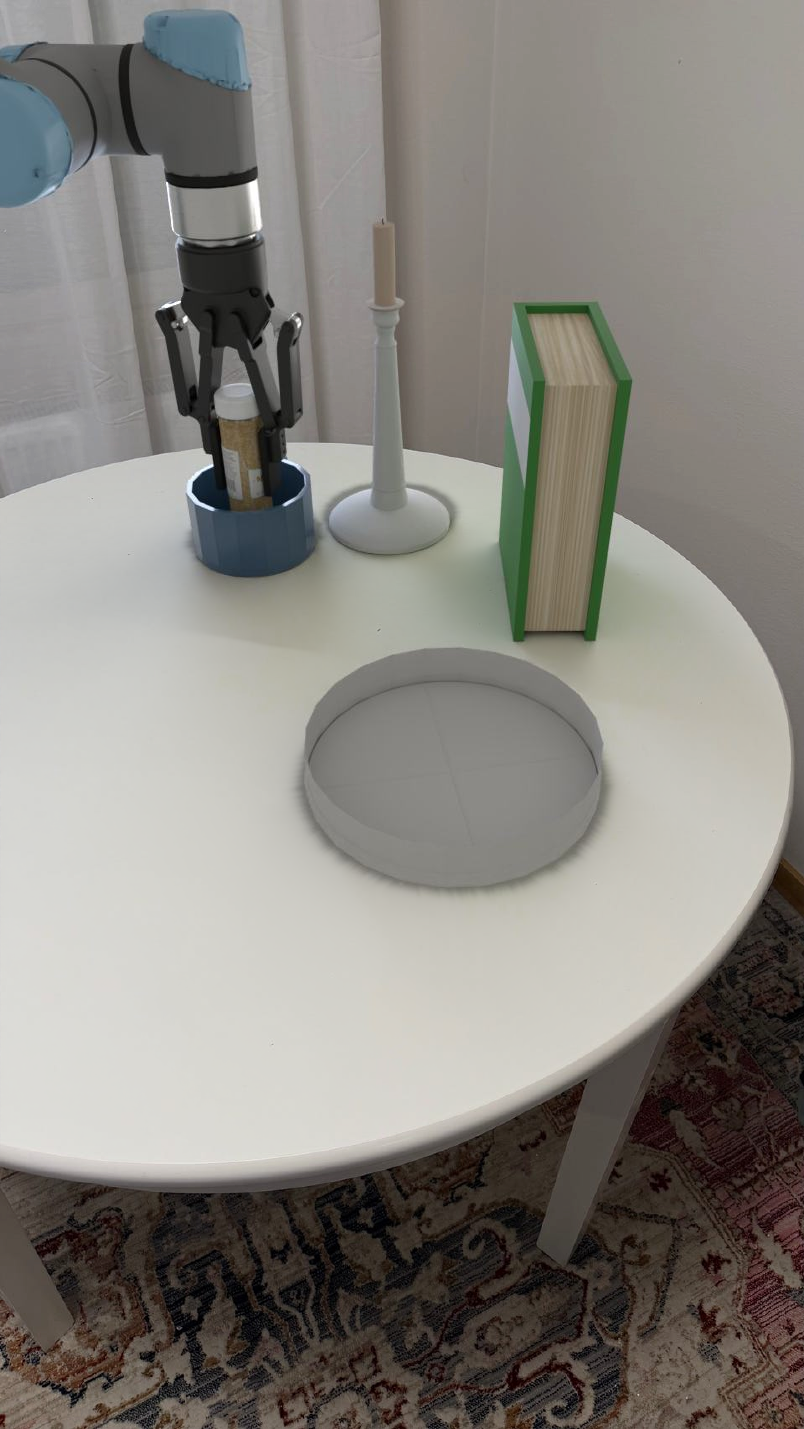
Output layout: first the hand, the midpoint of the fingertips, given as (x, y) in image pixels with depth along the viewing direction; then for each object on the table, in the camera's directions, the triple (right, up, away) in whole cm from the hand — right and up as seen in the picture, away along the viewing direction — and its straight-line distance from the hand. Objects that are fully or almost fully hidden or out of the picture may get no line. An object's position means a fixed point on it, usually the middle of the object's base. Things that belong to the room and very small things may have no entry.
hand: (249, 486), depth 100 cm
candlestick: (+14, -2, +8) cm, 16 cm away
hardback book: (+29, -10, -2) cm, 31 cm away
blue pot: (0, -4, +5) cm, 7 cm away
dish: (+19, -28, -23) cm, 41 cm away
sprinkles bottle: (0, -3, +2) cm, 4 cm away
